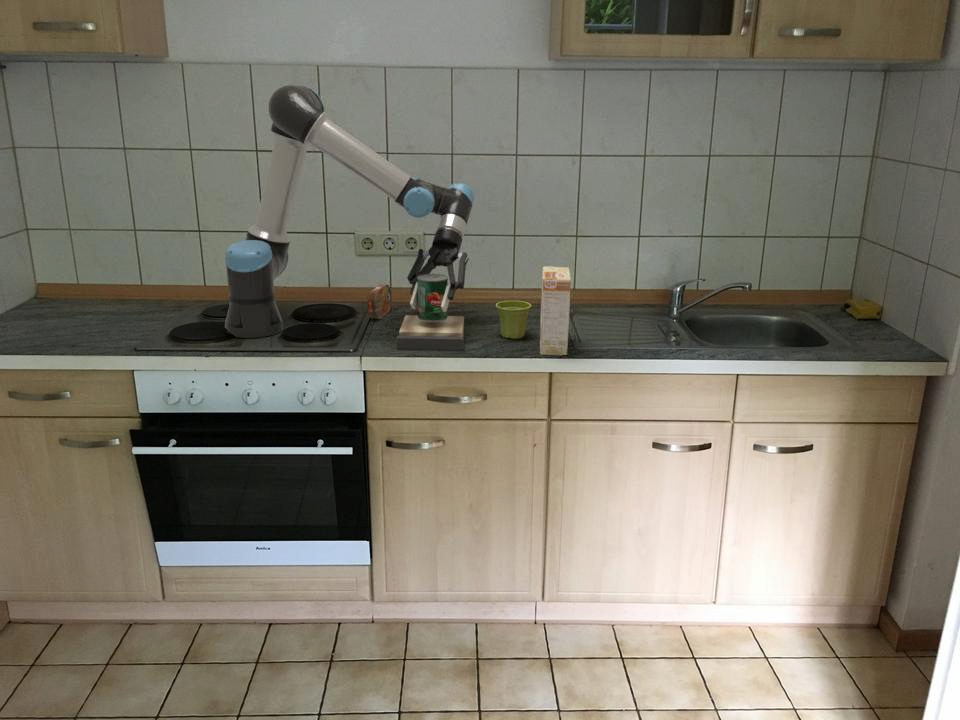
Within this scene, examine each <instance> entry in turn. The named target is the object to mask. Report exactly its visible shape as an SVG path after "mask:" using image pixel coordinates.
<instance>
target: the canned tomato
mask: <svg viewBox="0 0 960 720" xmlns="http://www.w3.org/2000/svg"><path fill="white" fill-rule="evenodd" d="M448 278H449V276H447V275H446V274H440V273H430V274H423V275H419V276H418V277H417V279H418V302H417V315H418V319H419V320H421V321H425V322H440V321H444V320H446V319H447V318H448V317H447V316H448V310H447V311H446V312H443V310H442V308H441V304H442V300H443V297H444V294H445V290H446V287H447V285H449V284H448V280H449V279H448Z"/></svg>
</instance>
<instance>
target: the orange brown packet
mask: <svg viewBox="0 0 960 720" xmlns="http://www.w3.org/2000/svg"><path fill="white" fill-rule="evenodd" d="M366 300H367V303H366V304H367V310H368V311H367V312H368V316H369V318H370V319H371V320H382V319H383V318H384V317H385V316H386V315H387V314H388V313H390V311H391V310H392V309H391V308H392V301H393V300H392V292H391V288H390V285H389V284H378V285H377V286H376V287H374V288H373V289H372V290H370V291H369V292H368V295H367V299H366Z"/></svg>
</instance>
